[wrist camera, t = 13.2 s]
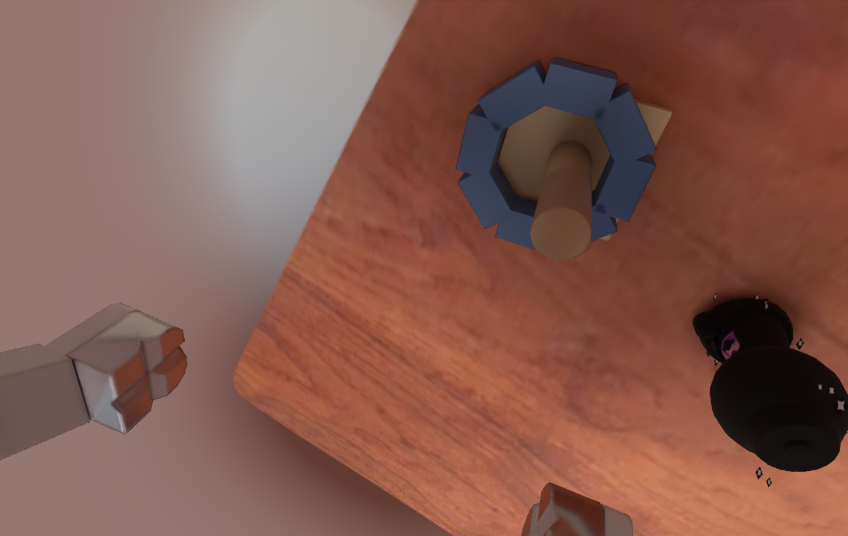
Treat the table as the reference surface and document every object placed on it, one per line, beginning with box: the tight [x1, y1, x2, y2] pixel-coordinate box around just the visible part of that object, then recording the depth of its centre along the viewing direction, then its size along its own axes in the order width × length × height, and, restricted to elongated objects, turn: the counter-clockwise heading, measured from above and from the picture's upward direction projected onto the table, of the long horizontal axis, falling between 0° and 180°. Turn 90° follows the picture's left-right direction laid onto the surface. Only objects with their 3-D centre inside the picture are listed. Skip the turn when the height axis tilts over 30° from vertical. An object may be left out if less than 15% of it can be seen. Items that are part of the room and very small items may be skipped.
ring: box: [456, 57, 656, 250], centre depth 26 cm, size 10×10×2 cm
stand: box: [497, 74, 672, 260], centre depth 24 cm, size 8×8×11 cm
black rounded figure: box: [693, 293, 848, 487], centre depth 26 cm, size 7×6×10 cm
